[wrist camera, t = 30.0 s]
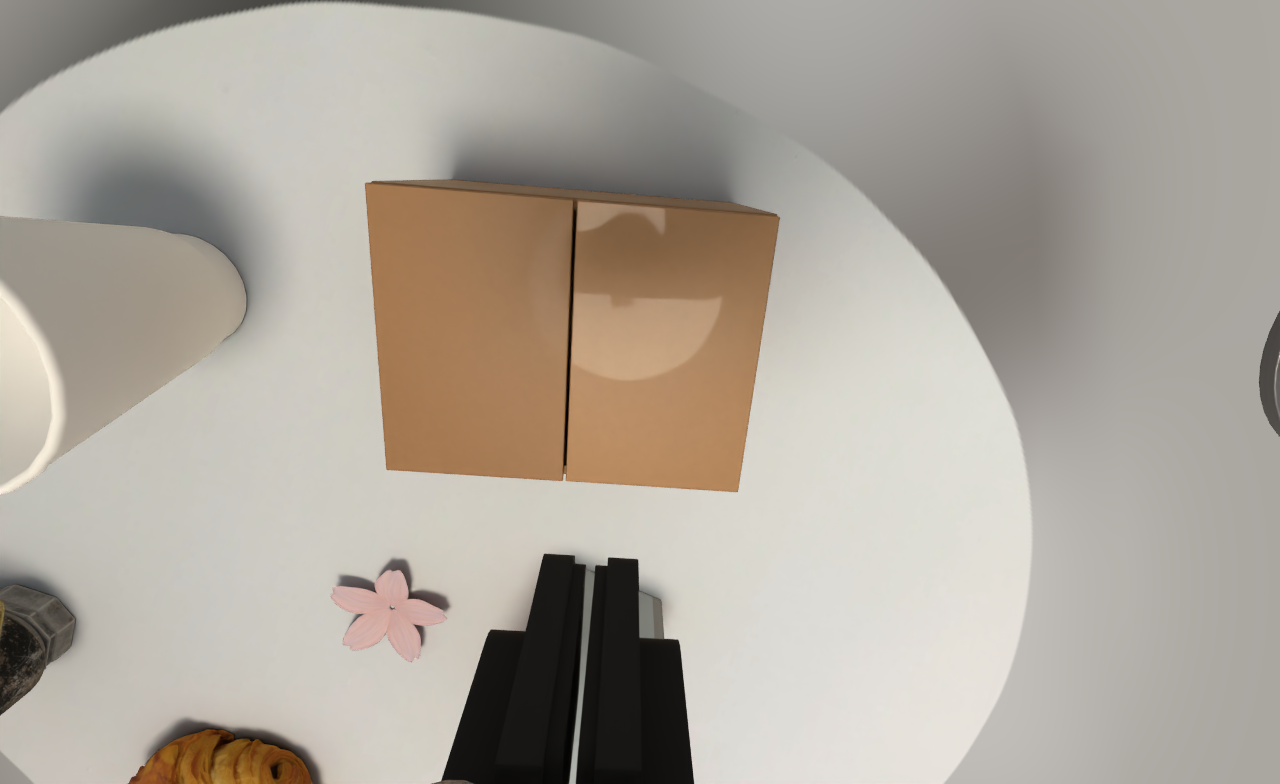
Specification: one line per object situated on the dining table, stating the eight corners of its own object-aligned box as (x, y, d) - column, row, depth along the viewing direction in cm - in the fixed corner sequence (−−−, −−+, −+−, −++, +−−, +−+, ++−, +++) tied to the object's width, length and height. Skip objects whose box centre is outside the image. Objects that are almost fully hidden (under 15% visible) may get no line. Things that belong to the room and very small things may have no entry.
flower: (297, 609, 46) (286, 623, 44) (372, 527, 43) (362, 539, 42) (402, 676, 48) (394, 691, 47) (478, 602, 46) (473, 616, 44)
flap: (778, 216, 25) (780, 216, 24) (736, 488, 29) (738, 492, 29) (577, 199, 24) (577, 200, 24) (566, 477, 29) (565, 481, 29)
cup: (206, 412, 40) (-48, 554, 25) (50, 273, 37) (-349, 340, 22) (326, 305, 38) (124, 391, 23) (171, 146, 35) (-186, 124, 19)
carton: (734, 202, 36) (782, 215, 24) (708, 402, 40) (739, 493, 29) (450, 179, 35) (362, 181, 24) (456, 385, 40) (384, 471, 28)
